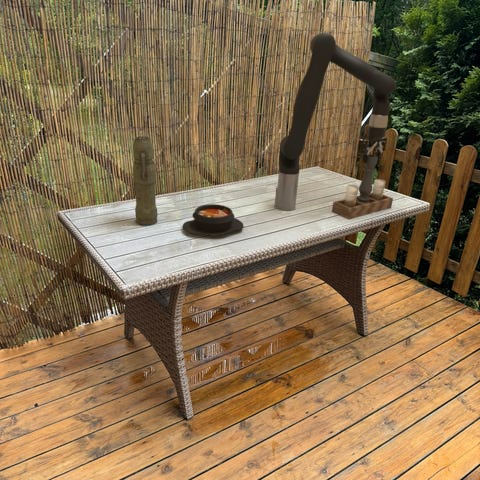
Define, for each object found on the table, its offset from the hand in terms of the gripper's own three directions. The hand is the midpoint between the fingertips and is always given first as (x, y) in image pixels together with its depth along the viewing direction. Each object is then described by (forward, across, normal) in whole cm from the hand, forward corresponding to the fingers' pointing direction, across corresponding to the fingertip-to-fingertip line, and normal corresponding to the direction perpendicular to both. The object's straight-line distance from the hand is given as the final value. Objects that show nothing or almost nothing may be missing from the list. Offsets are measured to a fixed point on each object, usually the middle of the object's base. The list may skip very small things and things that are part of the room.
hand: (370, 161), depth 191 cm
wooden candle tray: (+23, 0, 0) cm, 23 cm away
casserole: (+24, +74, -15) cm, 79 cm away
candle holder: (+23, 0, 0) cm, 23 cm away
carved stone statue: (+24, +94, -35) cm, 103 cm away
